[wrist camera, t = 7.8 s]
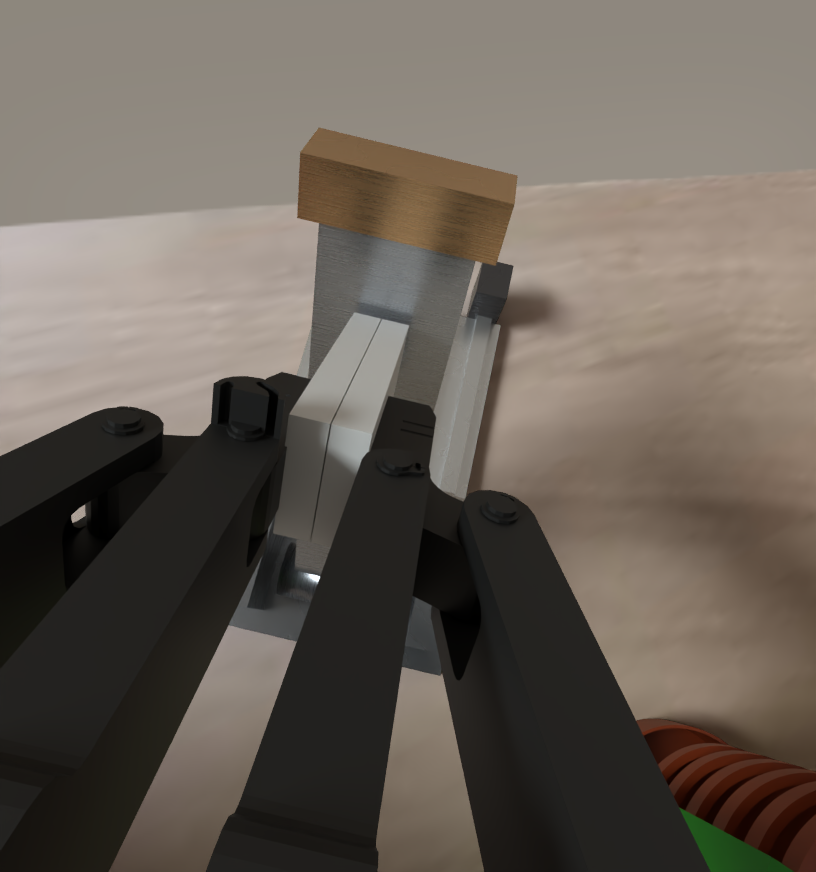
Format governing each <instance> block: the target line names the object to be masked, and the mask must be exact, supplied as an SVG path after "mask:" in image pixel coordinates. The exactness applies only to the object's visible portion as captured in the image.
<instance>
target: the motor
mask: <svg viewBox="0 0 816 872" xmlns="http://www.w3.org/2000/svg"><path fill="white" fill-rule="evenodd" d="M636 722H637V724H638V726H639V728H640V730H641V732H642V734H643V736H644V738H645V740H646V742H647V744H648V746H649V748H650V750H651V752H652V754H653V756H654V758H655V760H656V762H657V764H658V766H659V768H660V770H661V772H662V774H663V776H664V778H665V780H666V782H667V784H668V786H669V788H670V790H671V792H672V794H673V796H674V798H675V800H676V802H677V804H678V806H679V809H680V811H681V813H682V815H683V817H684V819H685V821H686V823H687V825H688V827H689V829H690V831H691V833H692V835H693V837H694V839H695V841H696V843H697V845H698V847H699V849H700V851H701V853H702V855H703V857H704V859H705V861H706V863H707V865H708V867H709V869H710V871H711V872H816V771H811V770H808V769H805V768H802V767H799V766H796V765H792V764H789V763H785V762H782V761H777V760H774V759H772V758H769V757H765V756H762V755H758V754H755V753H751V752H747V751H744V750H741V749H738V748H735V747H731V746H729V745H728V744H727V743H725V742H724V741H723V740H721V739H719V738H718V737H716V736H714V735H712V734H711V733H708V732H706V731H704V730H701V729H698V728H694V727H691V726H687V725H684V724H680V723H676V722H672V721H668V720H663V719H642V720H637V721H636Z"/></svg>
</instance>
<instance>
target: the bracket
mask: <svg viewBox="0 0 816 872" xmlns="http://www.w3.org/2000/svg"><path fill="white" fill-rule="evenodd" d="M512 270H513V266H512V265H508V264H504V263H500V262H497V263H496V266H495V265H490V264H486V263H482V265H481V268H480V271H479V274H478V277H477V280H476V283H475V286H474V289H473V291H472V295H471V300H470V304H469V309H468V313H467V317H464V316H460V319H459V322H458V326H457V330H456V333H455V337H454V341H453V344H452V348H451V351H450V355H449V359H448V362H447V366H446V370H445V373H444V377H443V380H442V384H441V388H440V391H439V395H438V399H437V402H436V406H435V409H434V414H435V415H436V423H435V429H434V437H433V444H432V451H431V457H430V464H429V469H430V474H431V476H430V478H431V480H432V482H433V483H434V484H435V485H436V486H437V487H438V488H439V489H441V490H442V491H443V492H445V493H446V494H448V495H450V496H452V497H454V498H456V499H458V500H461V501H464V500H465V498H466V493H467V488H468V483H469V478H470V473H471V468H472V463H473V458H474V454H475V449H476V444H477V439H478V434H479V429H480V424H481V419H482V414H483V410H484V405H485V400H486V395H487V390H488V385H489V380H490V375H491V370H492V365H493V361H494V356H495V351H496V346H497V341H498V336H499V331H500V326H501V325H497V324H496V322H497V319H498V317H499V315H500V313H501V311H502V308H503V306H504V304H505V302H506V299H507V295H508V290H509V285H510V280H511V275H512ZM311 331H312V327H311V330H310V333H309V337H308V340H307V343H306V347H305V350H304V353H303V356H302V360H301V363H300V366H299V369H298V373H297V376H300V377H304V378H308V374H309V359H310V345H311ZM275 515H276V514H275ZM274 523H275V516H274V518H273V520H272V522H271V524H270V526H269V528H268V536H267V543H266V549H265V551H264V553H263V555H262V557H261V559H260V561H259V563H258V565H257V567H256V569H255V572H254V574H253V576H252V578H251V580H250V582H249V584H248V586H247V588H246V590H245V592H244V594H243V596H242V598H241V600H240V602H239V604H238V606H237V609H236V611H235V613H234V615H233V617H232V619H231V621H230V623H229V625H230V626H234V627H239V628H243V629H247V630H251V631H255V632H259V633H264V634H268V635H272V636H276V637H280V638H284V639H289V640H293V641H297V640H298V637H299V635H300V632H301V629H302V626H303V623H304V620H305V618H306V615H307V612H308V609H309V606H310V604H311V603H310V602H306V601H302V600H297V599H293V598H289V597H285V596H281V595H277V593H276V590H277V583H278V578H279V573H280V569H281V566H282V562H283V559H284V556H285V553H286V551H287V548H288V546H289V544H290V543H291V542H294V543H297V539H295V538H291V537H287V536H282V535H278V534H274V533H273V530H274ZM431 607H432V606H431V605H429V604H427V603H426V602H424V601H422V600H420V599H418V598H416V597H414V596H412V602H411V609H410V616H409V622H408V629H407V636H406V642H405V649H404V655H403V662H402V667H405V668H410V669H414V670H418V671H422V672H426V673H430V674H435V675H439V676H440V675H441V670H442V668H441V663H440V659H439V654H438V649H437V644H436V640H435V635H434V630H433V626H432V621H431Z"/></svg>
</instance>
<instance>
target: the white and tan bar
mask: <svg viewBox="0 0 816 872" xmlns="http://www.w3.org/2000/svg"><path fill="white" fill-rule="evenodd" d="M299 173H300V174H299V194H298V217H297V218H300V219H304V220H308V221H313V222H317V223H319V232H318V246H317V260H316V275H315V289H314V303H313V317H312V331H311V345H310V359H309V374H308V378H309V379H312V378H313V376H314V375H315V373H316V371H317V370H318V368H319V367H320V365H321V364H322V362H323V361H324V359H325V357H326V356H327V354H328V353H329V351H330V350H331V348H332V346H333V345H334V343H335V342H336V340H337V339H338V337H339V335H340V334H341V332H342V331H343V329H344V328H345V326H346V325H347V323H348V321H349V320H350V318H351V317H352V315H353V314H354V312H355V313H359V314H363V315H367V316H372V317H376V318H380V319H381V321H382V319H384V320H388V321H393V322H397V323H401V324H405V325H409V329H408V333H407V338H406V342H405V347H404V351H403V356H402V361H401V365H400V370H399V374H398V379H397V383H396V388H395V392H394V397H396V398H400V399H404V400H408V401H412V402H417V403H421V404H425V405H429V406H430V407H431V409H432V411H433V412H434V409H435V406H436V402H437V399H438V395H439V391H440V388H441V384H442V380H443V377H444V373H445V370H446V366H447V362H448V359H449V355H450V351H451V348H452V344H453V341H454V337H455V333H456V330H457V326H458V322H459V319H460V315H461V312H462V308H463V304H464V301H465V297H466V293H467V290H468V286H469V283H470V279H471V275H472V272H473V268H474V265H475V261H478V262H482V263H486V264H490V265H495V266H496V263H497V260H498V256H499V253H500V250H501V247H502V243H503V240H504V237H505V233H506V230H507V227H508V224H509V220H510V217H511V214H512V210H513V207H514V203H515V194H516V184H517V176H516V175H512V174H508V173H504V172H500V171H495V170H492V169H487V168H483V167H479V166H475V165H471V164H467V163H463V162H458V161H454V160H450V159H446V158H442V157H437V156H434V155H430V154H425V153H421V152H417V151H413V150H409V149H405V148H401V147H397V146H392V145H388V144H384V143H380V142H376V141H372V140H368V139H363V138H360V137H355V136H351V135H347V134H343V133H339V132H335V131H330V130H326V129H322V128H318V130H317V131H316V132H315V134H314V135H313V136H312V138H311V139H310V140H309V142H308V143H307V144H306V146H305V147H304V148H303V150H302V151H301V152H300V171H299ZM311 540H312V538H311ZM311 540H310V542H308V541H303V540H299V539H297V543H294V542H291V543H290V544H289V546H288V548H287V551H286V553H285V556H284V559H283V562H282V566H281V569H280V573H279V578H278V583H277V590H276V593H277V595H281V596H285V597H289V598H293V599H297V600H302V601H306V602H310V603H311V601H312V598H313V595H314V592H315V590H316V587H317V584H318V581H319V578H320V576H321V573H322V570H323V567H324V564H325V562H326V559H327V556H328V553H329V550H330V548H331V547H329V546H325V545H321V544H316V543H312V542H311Z"/></svg>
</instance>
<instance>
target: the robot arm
mask: <svg viewBox="0 0 816 872" xmlns="http://www.w3.org/2000/svg"><path fill="white" fill-rule="evenodd" d="M408 329H409V325H405V324H401V323H397V322H393V321H388V320H384V319H382V321H381V319H380V318H376V317H372V316H367V315H363V314H359V313H355V312H354V314H353V315H352V317H351V318H350V320H349V321H348V323H347V325H346V326H345V328H344V329H343V331H342V332H341V334H340V335H339V337H338V339H337V340H336V342H335V343H334V345H333V346H332V348H331V350H330V351H329V353H328V354H327V356H326V357H325V359H324V361H323V362H322V364H321V365H320V367H319V368H318V370H317V371H316V373H315V375H314V376H313V378H312V379H309V378H304V377H300V376H296V375H292V374H288V373H283V372H281V373H279V374H276V375H274V376H271V377H269V378H267V379H266V380H264V379H261V378H254V377H247V376H239V377H229V378H224V379H221V380H219V381H218V382H216V383H214V388H213V402H212V417H211V424H210V425H209V426H208V427H207V429H206V430H205V431H204V432H203V433H202V434H201V436H176V435H163V422H162V421H161V419H160V418H159V417H158V416H156V415H155V414H153V413H151V412H149V411H145V410H142V409H138V408H135V407H129V408H128V407H122V406H121V407H117V408H107V409H103V410H100V411H97V412H94V413H91V414H89V415H87V416H85V417H83V418H81V419H79V420H77V421H74V422H72V423H70V424H68V425H66V426H64V427H62V428H60V429H57V430H55V431H53V432H51V433H49V434H47V435H45V436H42V437H40V438H38V439H36V440H34V441H32V442H30V443H28V444H25V445H23V446H21V447H19V448H17V449H15V450H13V451H11V452H8V453H6V454H4V455H2V456H0V872H109V870H110V868H111V865H112V863H113V861H114V859H115V857H116V855H117V853H118V851H119V849H120V847H121V845H122V843H123V841H124V839H125V837H126V835H127V833H128V831H129V828H130V826H131V824H132V822H133V820H134V818H135V816H136V814H137V812H138V810H139V808H140V806H141V804H142V802H143V800H144V798H145V796H146V794H147V791H148V789H149V787H150V785H151V783H152V781H153V779H154V777H155V775H156V773H157V771H158V769H159V767H160V765H161V763H162V761H163V759H164V757H165V754H166V752H167V750H168V748H169V746H170V744H171V742H172V740H173V738H174V736H175V734H176V732H177V730H178V728H179V726H180V724H181V722H182V720H183V717H184V715H185V713H186V711H187V709H188V707H189V705H190V703H191V701H192V699H193V697H194V695H195V693H196V691H197V689H198V687H199V685H200V683H201V680H202V678H203V676H204V674H205V672H206V670H207V668H208V666H209V664H210V662H211V660H212V658H213V656H214V654H215V652H216V650H217V648H218V646H219V643H220V641H221V639H222V637H223V635H224V633H225V631H226V629H227V627H228V625H229V623H230V621H231V619H232V617H233V615H234V613H235V611H236V609H237V606H238V604H239V602H240V600H241V598H242V596H243V594H244V592H245V590H246V588H247V586H248V584H249V582H250V580H251V578H252V576H253V574H254V572H255V569H256V567H257V565H258V563H259V561H260V559H261V557H262V555H263V553H264V551H265V549H266V543H267V536H268V528H269V526H270V524H271V522H272V520H273V518H274V516H275V523H274V530H273V533H274V534H278V535H282V536H287V537H291V538H295V539H299V540H303V541H308V542H310V540H311V538H312V540H311V542H312V543H316V544H321V545H325V546H329V547H331V548H330V550H329V553H328V556H327V559H326V562H325V564H324V567H323V570H322V573H321V576H320V578H319V581H318V584H317V587H316V590H315V592H314V595H313V598H312V601H311V604H310V606H309V609H308V612H307V615H306V618H305V620H304V623H303V626H302V629H301V632H300V635H299V637H298V640H297V643H296V646H295V649H294V651H293V654H292V657H291V660H290V663H289V665H288V668H287V671H286V674H285V677H284V679H283V682H282V685H281V688H280V691H279V693H278V696H277V699H276V702H275V705H274V707H273V710H272V713H271V716H270V719H269V722H268V724H267V727H266V730H265V733H264V736H263V738H262V741H261V744H260V747H259V750H258V752H257V755H256V758H255V761H254V764H253V766H252V769H251V772H250V775H249V778H248V780H247V783H246V786H245V789H244V792H243V794H242V797H241V800H240V802H239V805H238V807H237V809H236V811H235V813H234V814H232V815H230V816H229V817H228V819H227V821H226V823H225V825H224V827H223V829H222V831H221V834H220V836H219V839H218V841H217V844H216V846H215V849H214V851H213V854H212V856H211V859H210V862H209V865H208V867H207V870H206V872H377V869H378V850H377V849H376V836H377V829H378V822H379V815H380V808H381V802H382V795H383V788H384V782H385V775H386V768H387V762H388V755H389V749H390V742H391V735H392V729H393V722H394V715H395V709H396V702H397V695H398V689H399V682H400V675H401V669H402V662H403V655H404V649H405V642H406V636H407V629H408V622H409V616H410V609H411V602H412V596H414V597H416V598H418V599H420V600H422V601H424V602H426V603H427V604H429V605H431V606H432V607H431V621H432V626H433V630H434V635H435V640H436V644H437V649H438V654H439V659H440V663H441V668H442V673H443V678H444V682H445V687H446V692H447V697H448V701H449V706H450V711H451V715H452V720H453V725H454V730H455V734H456V739H457V744H458V749H459V753H460V758H461V763H462V768H463V772H464V777H465V782H466V786H467V791H468V796H469V801H470V805H471V810H472V815H473V820H474V824H475V829H476V834H477V839H478V843H479V848H480V853H481V857H482V862H483V867H484V872H711V871H710V869H709V867H708V865H707V863H706V861H705V859H704V857H703V855H702V853H701V851H700V849H699V847H698V845H697V843H696V841H695V839H694V837H693V835H692V833H691V831H690V829H689V827H688V825H687V823H686V821H685V819H684V817H683V815H682V813H681V811H680V809H679V806H678V804H677V802H676V800H675V798H674V796H673V794H672V792H671V790H670V788H669V786H668V784H667V782H666V780H665V778H664V776H663V774H662V772H661V770H660V768H659V766H658V764H657V762H656V760H655V758H654V756H653V754H652V752H651V750H650V748H649V746H648V744H647V742H646V740H645V738H644V736H643V734H642V732H641V730H640V728H639V726H638V724H637V722H636V720H635V718H634V716H633V714H632V711H631V709H630V707H629V705H628V703H627V701H626V699H625V697H624V695H623V693H622V691H621V689H620V687H619V685H618V683H617V681H616V679H615V677H614V675H613V673H612V671H611V669H610V667H609V665H608V663H607V661H606V659H605V657H604V655H603V653H602V651H601V649H600V647H599V645H598V643H597V641H596V639H595V637H594V635H593V633H592V631H591V629H590V627H589V625H588V623H587V621H586V619H585V616H584V614H583V612H582V610H581V608H580V606H579V604H578V602H577V600H576V598H575V596H574V594H573V592H572V590H571V588H570V586H569V584H568V582H567V580H566V578H565V576H564V574H563V572H562V570H561V568H560V566H559V564H558V562H557V560H556V558H555V556H554V554H553V552H552V550H551V548H550V546H549V544H548V542H547V540H546V538H545V536H544V534H543V532H542V530H541V528H540V526H539V524H538V521H537V519H536V517H535V515H534V514H533V513H532V511H531V510H530V509H529V508H528V506H526V505H525V504H524V503H522V502H521V501H519V500H518V499H516V498H515V497H513V496H511V495H508V494H506V493H503V492H496V491H492V490H479V491H476V492H473V493H470V494H469V495H468V496H467V497H466V498H465V500H464V502H463V501H461V500H458V499H456V498H454V497H452V496H450V495H448V494H446V493H445V492H443V491H442V490H441V489H439V488H438V487H437V486H436V485H435V484H434V483H433V482H432V480H431V478H430V476H431V474H430V469H429V464H430V457H431V451H432V444H433V437H434V429H435V423H436V415H435V414H434V412H433V411H432V409H431V407H430V406H429V405H425V404H421V403H417V402H412V401H408V400H404V399H400V398H396V397H394V392H395V388H396V383H397V379H398V374H399V370H400V365H401V361H402V356H403V351H404V347H405V342H406V338H407V333H408ZM83 505H85V513H86V516H85V517H83V518H82V519H80V520H79V521H77V522H74V523H72V520H71V515H72V514H73V513H74V512H75V511H76V510H77V509H79V508H80V507H82V506H83ZM275 514H276V515H275Z"/></svg>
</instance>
